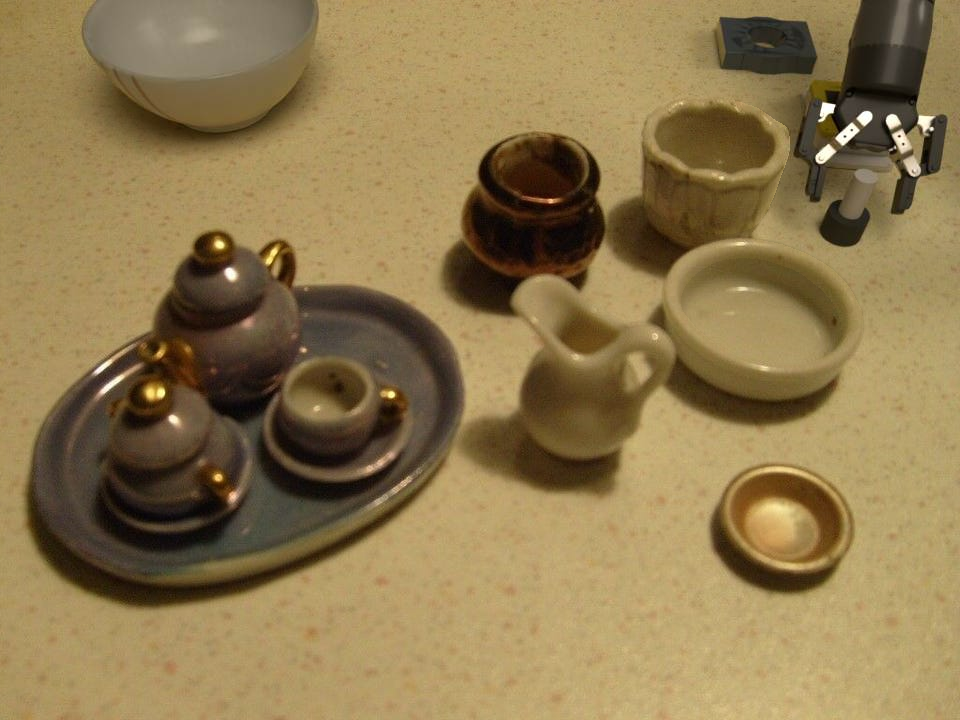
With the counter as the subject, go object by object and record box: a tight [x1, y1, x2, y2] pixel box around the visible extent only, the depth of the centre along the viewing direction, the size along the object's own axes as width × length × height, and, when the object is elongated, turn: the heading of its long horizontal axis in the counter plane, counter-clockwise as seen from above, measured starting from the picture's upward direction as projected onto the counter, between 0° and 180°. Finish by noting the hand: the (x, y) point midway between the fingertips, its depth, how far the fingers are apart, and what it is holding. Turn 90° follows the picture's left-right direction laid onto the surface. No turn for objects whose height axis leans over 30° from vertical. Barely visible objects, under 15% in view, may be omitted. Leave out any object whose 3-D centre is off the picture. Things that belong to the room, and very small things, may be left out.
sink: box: [715, 16, 818, 75], centre depth 117 cm, size 12×10×2 cm
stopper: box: [819, 169, 879, 247], centre depth 92 cm, size 4×4×8 cm
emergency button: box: [800, 79, 895, 173], centre depth 105 cm, size 9×4×15 cm
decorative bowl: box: [81, 0, 320, 134], centre depth 104 cm, size 27×27×12 cm
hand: (855, 208), depth 90 cm, fingers open, 8 cm apart
